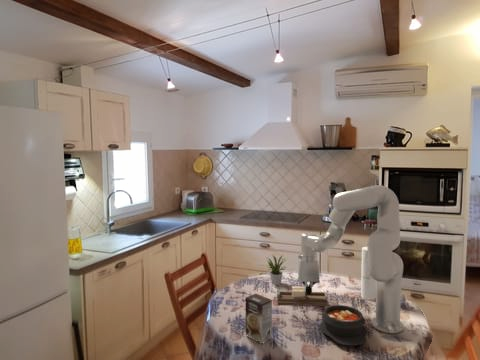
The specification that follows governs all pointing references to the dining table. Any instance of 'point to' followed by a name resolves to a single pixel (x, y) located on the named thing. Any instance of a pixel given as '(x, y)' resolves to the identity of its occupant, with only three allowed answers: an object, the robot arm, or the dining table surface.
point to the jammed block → (298, 292)
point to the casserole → (344, 325)
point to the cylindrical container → (367, 279)
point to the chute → (312, 299)
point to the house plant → (276, 270)
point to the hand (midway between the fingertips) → (308, 293)
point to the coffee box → (259, 317)
